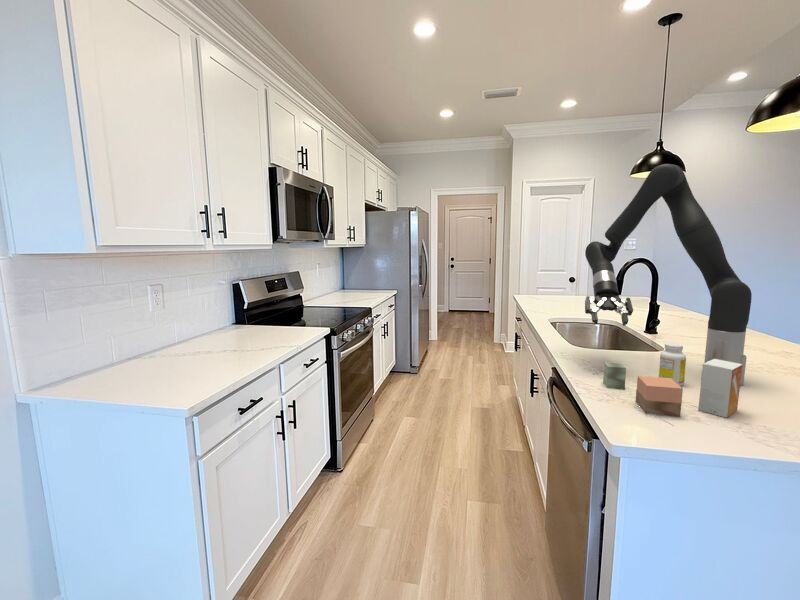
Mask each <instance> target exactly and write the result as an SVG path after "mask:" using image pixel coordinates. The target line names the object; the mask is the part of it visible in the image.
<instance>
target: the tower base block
mask: <svg viewBox="0 0 800 600" xmlns="http://www.w3.org/2000/svg"><path fill="white" fill-rule="evenodd" d="M635 403H636V405H637V406H640V408H641V409H642V410H643V411H644V412H643V413H644V414H646V415H648V414H647V413H651V414H657V416H665V417H666V416H667V417H676V418H677V417H678V418H681V413H682V412H681V411H682V403H671V402H660V401H650V400H645V399H644V397H643V396H642V395H641V394H640V393H639V391H638V390H637V388H636V389H635Z"/></svg>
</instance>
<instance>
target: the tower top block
mask: <svg viewBox="0 0 800 600" xmlns="http://www.w3.org/2000/svg"><path fill="white" fill-rule="evenodd" d="M636 389H637V390H638V391H639V393H640V394H641V395H642V396H643V397H644V399H645V400H650V401H660V402H671V403H681V404H682V403H683V393H684V392H683V391H684V390H683V387H682V386H679V385H678V384H677V383H676V382H675V381H673V380H672V379H671V378H661V377H659V376H658V377H657V376H646V375H645V376H643V375H637V380H636Z"/></svg>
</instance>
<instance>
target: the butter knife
mask: <svg viewBox="0 0 800 600" xmlns="http://www.w3.org/2000/svg"><path fill="white" fill-rule="evenodd" d="M633 407H634V408H635V409H636V408H637V410H638V409H639V410H638V411H641V412H642V413H644V411H643V410H642V409H641V408H640V407H639V405H637V404H635V405H633ZM646 415H648V416H651V417H652V416H653V417H652V418H655V419H657V418H658V419H657V420H659V419H660V420H659V421H661V420H662V421H661V422H663V421H664V422H663V423H665V422H666V423H665V424H667V423H668V424H667V425H669V424H670V425H669V426H671V425H672V426H671V427H674V426H675V425H674V424H673V423H671V422H669V421H667V420H665V419H663V418H662V417H660V416H659V415H655V414H651V413H647V414H646ZM661 418H662V419H661Z"/></svg>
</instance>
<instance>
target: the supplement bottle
mask: <svg viewBox="0 0 800 600" xmlns="http://www.w3.org/2000/svg"><path fill="white" fill-rule="evenodd" d="M664 349H665V350H663V351H660V355H659V370H658V377H661V378H671V379H672V380H673V381H675V382H676V383H677V384H678V385H679V386H680V387H682V386H683V385H684V384H685V377H686V376H685V374H686V363H687V362H686V361H687V356H686V354H685V353H684V352H683V349H684V346H683V344H680V343H676V342H675V343H674V342H665V343H664Z"/></svg>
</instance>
